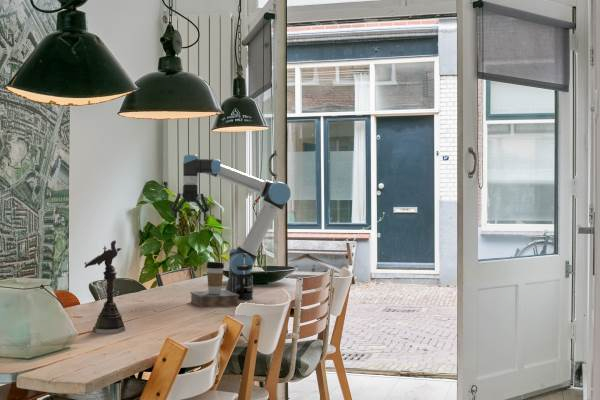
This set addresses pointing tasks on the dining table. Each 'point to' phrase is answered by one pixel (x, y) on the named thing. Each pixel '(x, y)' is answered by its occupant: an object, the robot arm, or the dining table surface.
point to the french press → (243, 282)
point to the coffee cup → (214, 277)
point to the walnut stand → (214, 299)
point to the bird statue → (108, 295)
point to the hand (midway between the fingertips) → (189, 224)
